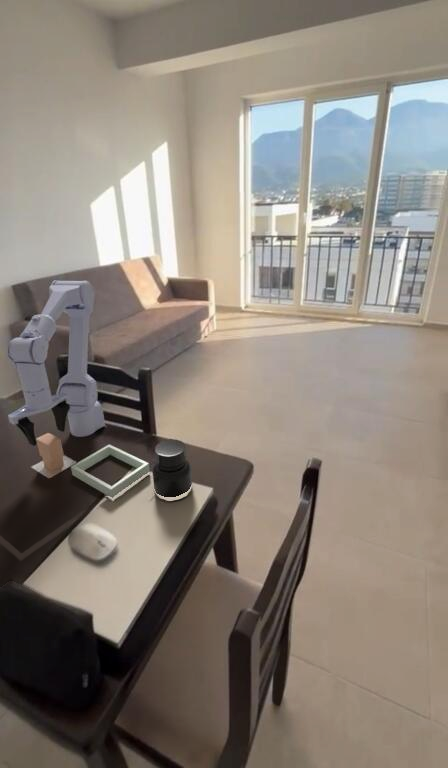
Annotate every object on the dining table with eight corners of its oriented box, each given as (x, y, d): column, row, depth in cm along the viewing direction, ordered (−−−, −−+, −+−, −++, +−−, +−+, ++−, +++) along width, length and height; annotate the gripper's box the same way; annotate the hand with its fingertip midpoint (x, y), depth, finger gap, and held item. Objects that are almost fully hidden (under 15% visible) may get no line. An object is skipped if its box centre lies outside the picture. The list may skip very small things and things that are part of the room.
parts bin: (110, 455, 105) (109, 444, 103) (150, 474, 97) (148, 463, 96) (73, 478, 96) (70, 466, 95) (113, 501, 88) (111, 489, 87)
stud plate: (59, 455, 105) (57, 444, 104) (77, 465, 101) (75, 454, 99) (31, 470, 99) (28, 458, 98) (49, 481, 95) (46, 470, 94)
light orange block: (54, 458, 102) (48, 432, 99) (66, 464, 100) (60, 438, 96) (42, 464, 100) (35, 438, 96) (54, 471, 97) (47, 445, 94)
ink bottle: (192, 475, 97) (189, 434, 92) (195, 499, 89) (193, 456, 84) (152, 480, 95) (148, 438, 90) (152, 505, 87) (147, 461, 82)
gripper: (53, 373, 98) (63, 420, 104) (-5, 394, 87) (10, 445, 93) (70, 379, 94) (80, 427, 100) (12, 402, 84) (26, 455, 89)
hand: (47, 436), depth 96 cm, fingers open, 7 cm apart
